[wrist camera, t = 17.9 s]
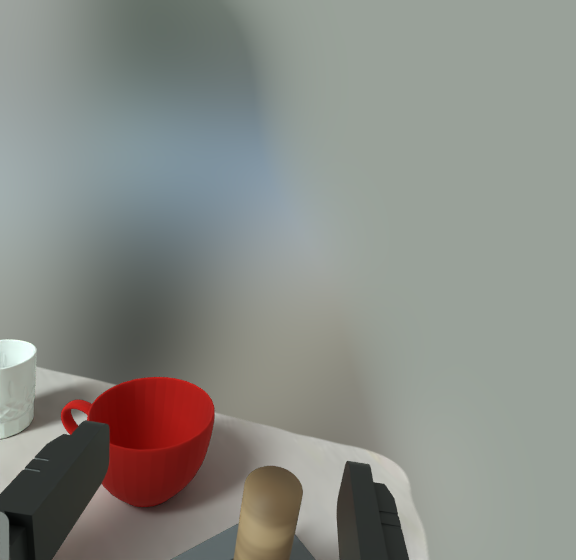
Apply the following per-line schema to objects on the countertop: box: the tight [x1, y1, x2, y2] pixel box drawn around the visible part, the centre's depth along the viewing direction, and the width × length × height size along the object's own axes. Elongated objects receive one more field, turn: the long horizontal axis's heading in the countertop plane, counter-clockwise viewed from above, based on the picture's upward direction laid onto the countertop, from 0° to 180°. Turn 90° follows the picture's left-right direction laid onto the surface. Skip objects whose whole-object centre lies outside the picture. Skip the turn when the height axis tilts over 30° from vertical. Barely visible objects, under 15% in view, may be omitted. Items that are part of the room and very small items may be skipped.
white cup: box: [0, 340, 37, 439], centre depth 49 cm, size 8×8×10 cm
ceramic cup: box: [61, 377, 214, 507], centre depth 44 cm, size 13×17×10 cm
